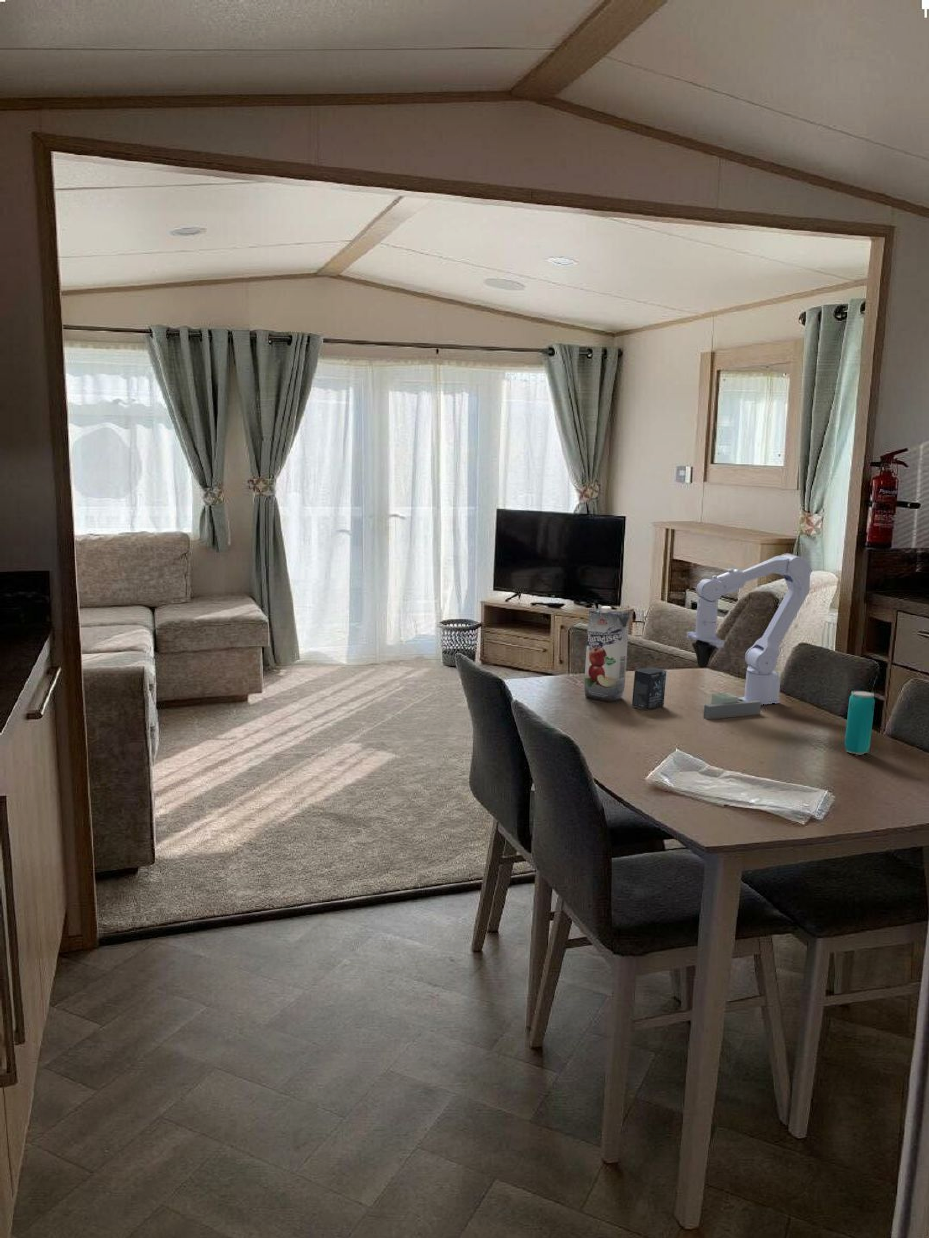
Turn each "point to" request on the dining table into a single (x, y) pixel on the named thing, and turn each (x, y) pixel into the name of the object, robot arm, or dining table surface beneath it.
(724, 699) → the block
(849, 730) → the beverage can
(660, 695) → the box
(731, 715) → the board
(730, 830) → the dining table surface
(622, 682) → the juice carton
